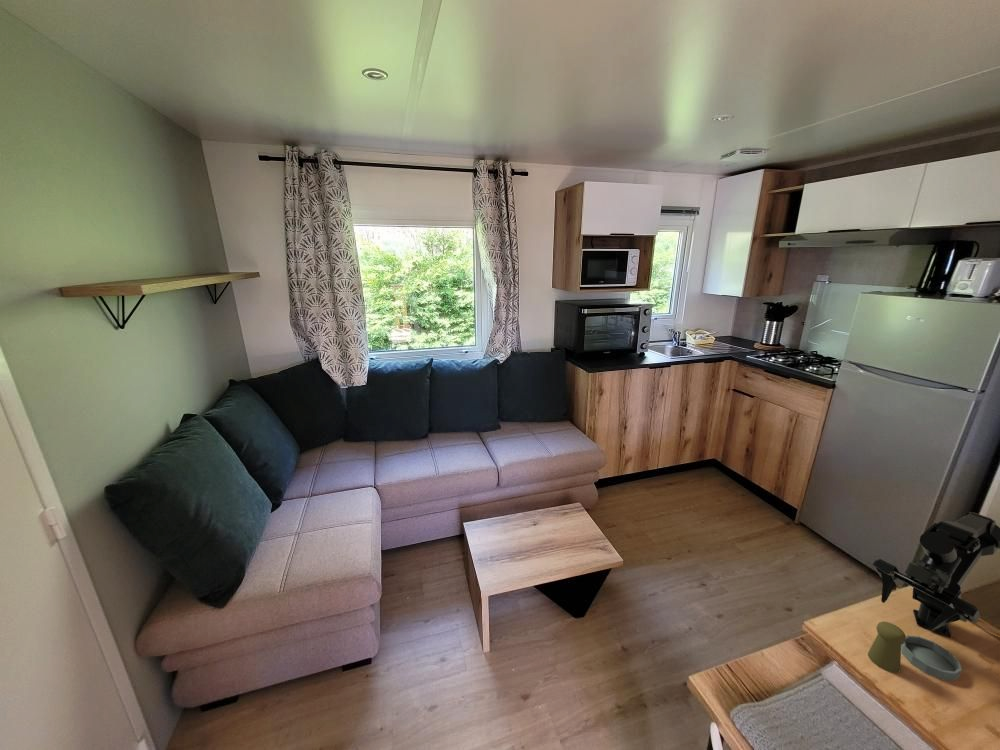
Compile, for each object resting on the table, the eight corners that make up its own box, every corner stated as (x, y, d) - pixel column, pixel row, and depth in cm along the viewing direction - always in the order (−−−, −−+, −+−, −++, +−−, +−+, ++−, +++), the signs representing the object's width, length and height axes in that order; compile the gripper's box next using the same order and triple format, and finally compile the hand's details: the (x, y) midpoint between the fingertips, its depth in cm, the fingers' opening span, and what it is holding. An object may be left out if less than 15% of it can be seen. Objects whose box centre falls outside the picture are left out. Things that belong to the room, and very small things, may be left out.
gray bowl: (897, 636, 104) (899, 629, 104) (952, 657, 98) (954, 649, 97) (904, 664, 97) (906, 656, 96) (963, 689, 90) (966, 681, 90)
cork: (907, 674, 94) (916, 640, 92) (878, 670, 95) (887, 636, 93) (888, 652, 100) (896, 618, 97) (861, 648, 101) (869, 615, 99)
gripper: (882, 533, 103) (852, 579, 102) (987, 580, 87) (953, 636, 85) (891, 549, 108) (863, 593, 107) (993, 596, 91) (961, 649, 90)
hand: (905, 615), depth 97 cm, fingers open, 9 cm apart
